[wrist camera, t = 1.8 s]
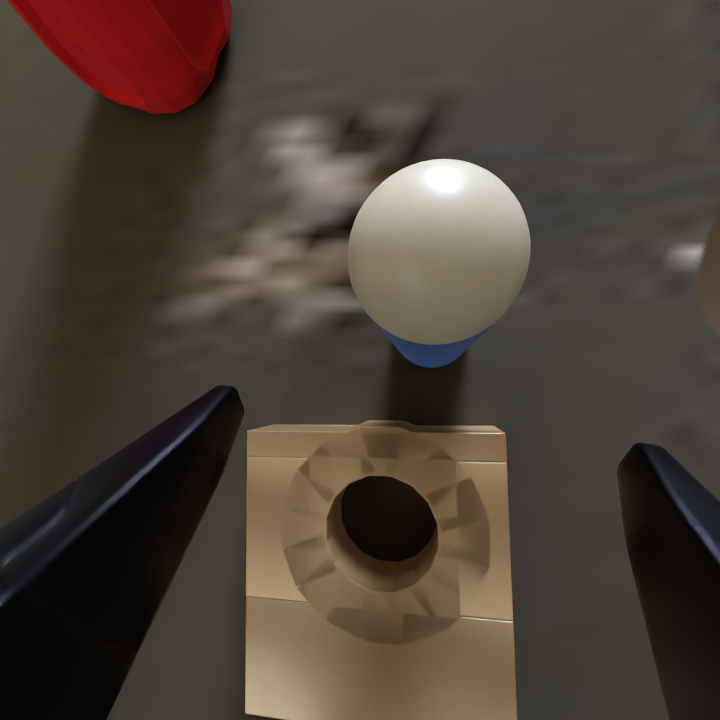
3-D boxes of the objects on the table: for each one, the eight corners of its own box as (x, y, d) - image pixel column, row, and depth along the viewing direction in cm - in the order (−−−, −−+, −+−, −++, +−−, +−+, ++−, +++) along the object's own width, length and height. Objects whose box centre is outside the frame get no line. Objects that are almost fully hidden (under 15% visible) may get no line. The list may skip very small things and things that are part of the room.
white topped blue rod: (471, 366, 19) (564, 327, 6) (394, 368, 20) (328, 336, 7) (468, 291, 20) (552, 95, 6) (393, 295, 20) (325, 127, 7)
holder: (504, 696, 18) (519, 757, 15) (271, 666, 20) (244, 714, 17) (493, 420, 19) (505, 427, 16) (272, 419, 21) (246, 425, 18)
